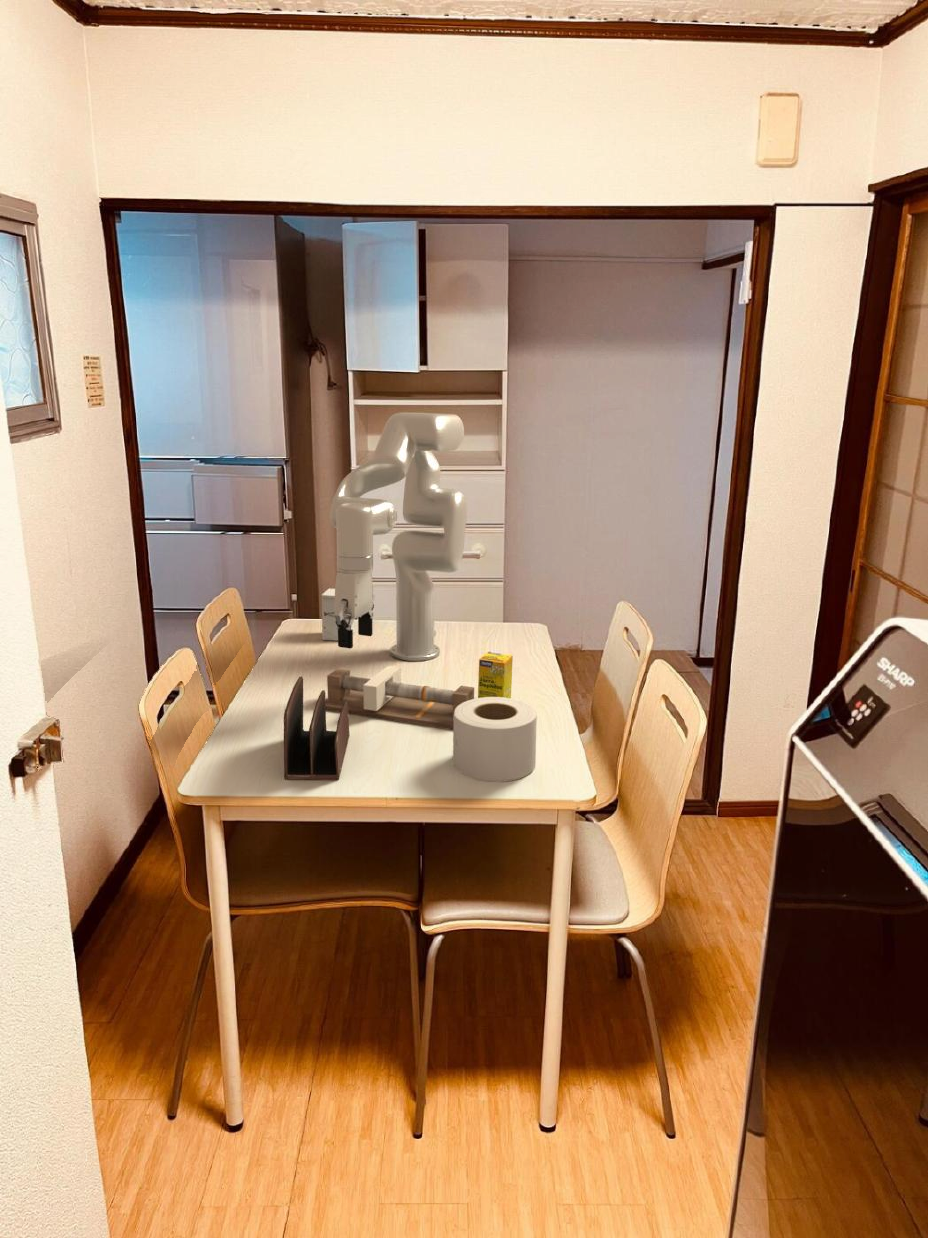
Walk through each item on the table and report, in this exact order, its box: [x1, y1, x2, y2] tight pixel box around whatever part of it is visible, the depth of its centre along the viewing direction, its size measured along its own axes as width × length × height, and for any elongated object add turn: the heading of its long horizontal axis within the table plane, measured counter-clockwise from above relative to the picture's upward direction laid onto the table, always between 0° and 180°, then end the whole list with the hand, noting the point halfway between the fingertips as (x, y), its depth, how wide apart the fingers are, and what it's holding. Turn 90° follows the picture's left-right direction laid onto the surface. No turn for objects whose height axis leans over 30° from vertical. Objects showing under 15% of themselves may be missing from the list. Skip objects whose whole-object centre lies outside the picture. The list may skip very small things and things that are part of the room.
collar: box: [363, 665, 402, 711], centre depth 199 cm, size 13×3×5 cm, turn 161°
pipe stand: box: [325, 668, 475, 731], centre depth 198 cm, size 12×32×6 cm, turn 71°
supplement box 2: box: [477, 651, 514, 699], centre depth 201 cm, size 6×6×11 cm
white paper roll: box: [452, 697, 538, 783], centre depth 172 cm, size 16×15×11 cm
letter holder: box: [283, 675, 350, 781], centre depth 174 cm, size 10×20×14 cm, turn 1°
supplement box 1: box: [321, 588, 356, 642], centre depth 245 cm, size 7×7×13 cm
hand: (355, 641), depth 197 cm, fingers open, 9 cm apart
